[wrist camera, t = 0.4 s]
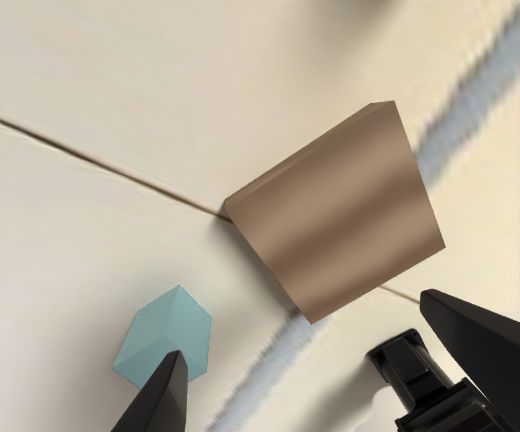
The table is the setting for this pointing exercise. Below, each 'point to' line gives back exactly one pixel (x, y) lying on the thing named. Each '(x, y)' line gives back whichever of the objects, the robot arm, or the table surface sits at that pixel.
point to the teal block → (165, 337)
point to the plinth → (340, 213)
